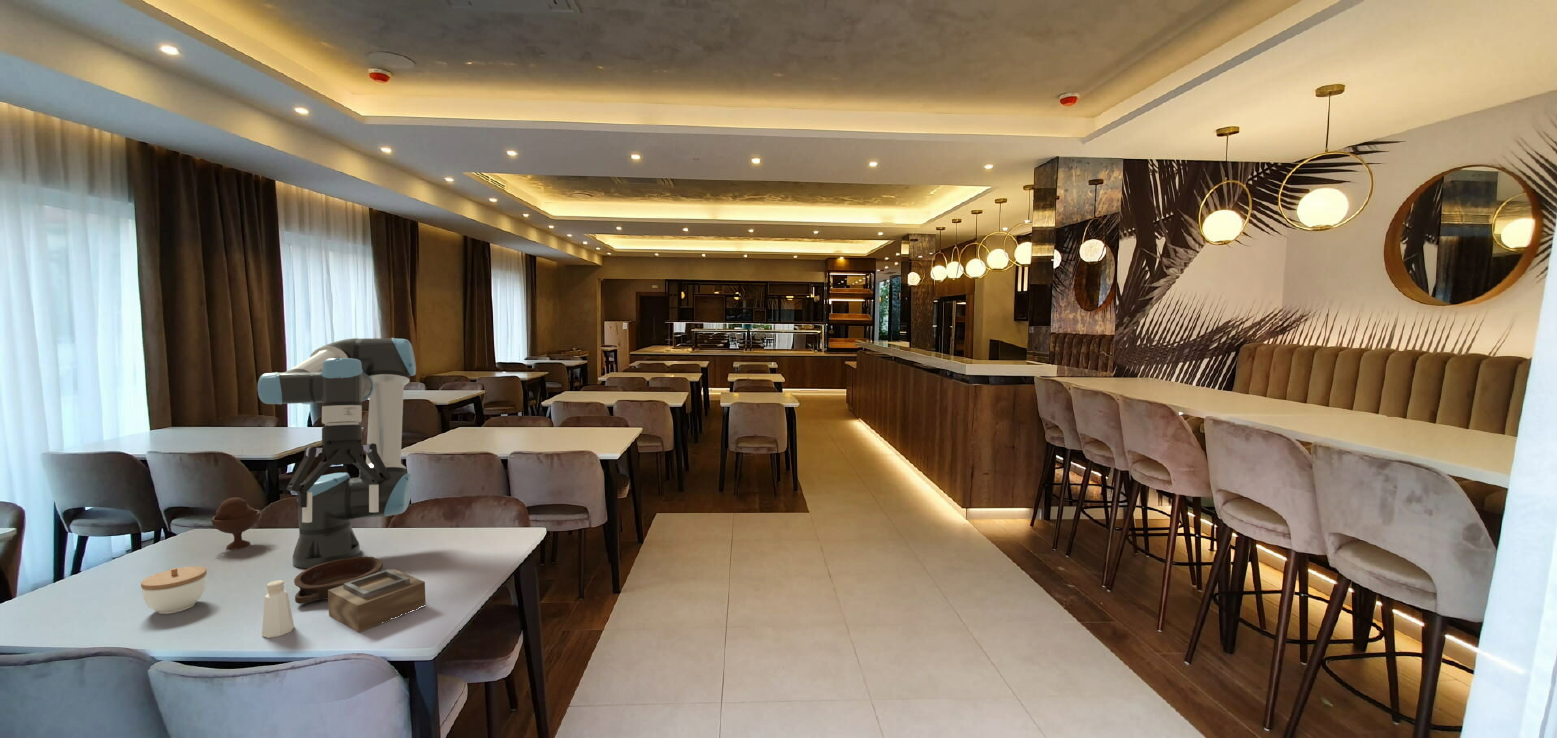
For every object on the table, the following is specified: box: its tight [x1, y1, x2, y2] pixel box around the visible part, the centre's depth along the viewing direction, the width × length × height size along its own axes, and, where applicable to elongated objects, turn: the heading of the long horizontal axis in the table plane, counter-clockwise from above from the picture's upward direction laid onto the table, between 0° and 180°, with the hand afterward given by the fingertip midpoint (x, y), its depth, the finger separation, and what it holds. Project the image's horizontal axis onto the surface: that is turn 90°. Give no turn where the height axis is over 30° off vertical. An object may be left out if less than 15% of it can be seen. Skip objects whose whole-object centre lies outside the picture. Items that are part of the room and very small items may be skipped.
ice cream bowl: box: [211, 496, 261, 550], centre depth 176 cm, size 11×11×15 cm
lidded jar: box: [140, 566, 208, 615], centre depth 138 cm, size 11×11×9 cm
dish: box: [293, 556, 384, 605], centre depth 149 cm, size 18×22×5 cm
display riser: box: [327, 568, 427, 633], centre depth 137 cm, size 14×14×7 cm
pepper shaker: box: [261, 579, 295, 639], centre depth 128 cm, size 5×5×11 cm
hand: (341, 517), depth 137 cm, fingers open, 13 cm apart
